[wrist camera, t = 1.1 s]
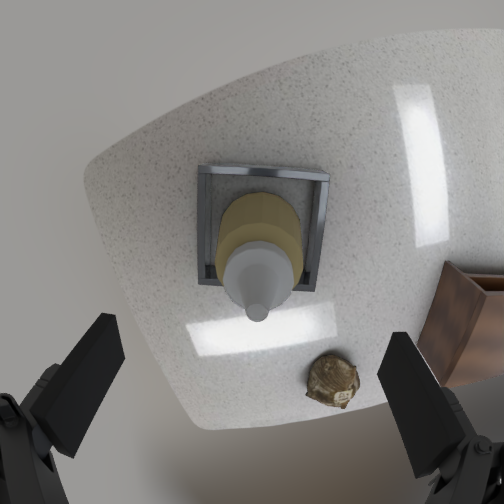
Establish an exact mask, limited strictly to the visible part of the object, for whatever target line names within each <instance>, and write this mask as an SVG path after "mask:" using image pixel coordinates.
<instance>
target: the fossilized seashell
mask: <svg viewBox="0 0 504 504" xmlns="http://www.w3.org/2000/svg"><path fill="white" fill-rule="evenodd" d="M359 387H360V379H359V376H358V372H357V371H356V366H353V365H352V364H351V363H349V362H348V361H347V360H345V359H342V358H340V357H338V356H335V355H329V356H324V357H321V358H320V359H318V360H317V361H316V362H315V363H314V365H313V366H312V369H311V370H310V373H309V378H308V384H307V391H308V392H307V393H306V396H308V397H310V398H312V399H314V400H317V401H319V402H320V403H322V404H325V405H327V406H333V407H341V409H345V408H346V406H347V404H348V402H349V401H350V399H351V398H353V396H354V395H355V393H356V391H357V390H358V389H359Z"/></svg>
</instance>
